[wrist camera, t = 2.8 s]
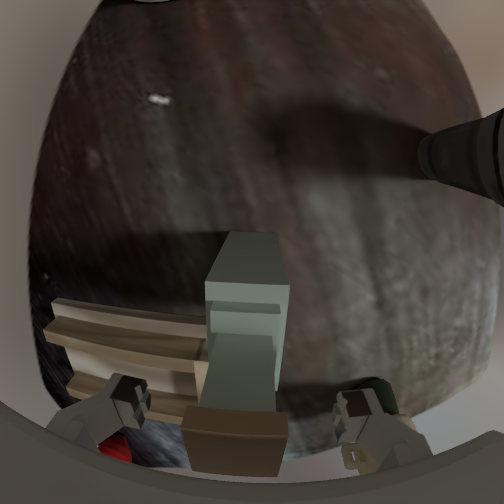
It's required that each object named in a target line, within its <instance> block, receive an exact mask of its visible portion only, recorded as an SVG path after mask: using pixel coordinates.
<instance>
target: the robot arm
mask: <svg viewBox="0 0 504 504" xmlns="http://www.w3.org/2000/svg"><path fill="white" fill-rule="evenodd" d="M136 1H141V2H160V1H168V0H136ZM147 387H148V385H147V381H146V380H144V379H140V378H136V377H132V376H127V375H123V374H119V373H113V374H112V375H111V377H110V378H109V380H108V381H107V383H106V384H105V386H104V388H103V389H102V391H101V392H100V394H99V395H97V394H95V395H93V396H91V397H89V398H87V399H84V400H82V401H80V402H78V403H76V404H73V405H71V406H69V407H67V408H64V409H62V410H60V411H57V413H56V414H55V415H54V417H53V418H52V420H51V421H50V422H49V424H48V425H47V427H46V428H43V427H41V426H40V425H38V424H36V423H34V422H33V421H31V420H29V419H27V418H26V417H24V416H22V415H21V414H19V413H18V412H16V411H14V410H13V409H11V408H10V407H8V406H7V405H5V404H4V403H2V402H1V401H0V504H504V434H502V433H501V432H498V431H495V430H492V431H489V432H486V433H484V434H482V435H480V436H478V437H477V438H474V439H472V440H470V441H468V442H466V443H464V444H461V445H459V446H457V447H454V448H452V449H449V450H447V451H444V452H442V453H439V454H437V455H434V456H433V454H432V452H431V450H430V447H429V445H428V443H427V441H426V439H425V437H424V436H423V435H421V434H420V433H418V432H416V431H415V430H413V429H411V428H410V427H408V426H407V425H405V424H404V423H402V422H400V421H399V420H397V419H396V418H394V417H393V416H391V415H390V414H388V413H384V412H383V410H382V407H381V405H380V403H379V401H378V398H377V396H376V394H375V392H374V390H373V389H372V388H368V389H361V390H360V389H359V390H349V391H339V392H338V394H337V397H336V398H337V402H336V403H335V404H334V406H333V409H332V420H333V424H334V425H335V426H337V428H336V430H335V433H336V437H337V441H338V443H341V442H351V441H356V442H357V443H358V444H359V445H360V446H361V447H362V448H363V449H364V450H365V451H366V452H367V453H368V454H370V455H371V456H372V457H373V458H374V459H375V460H376V461H377V462H378V463H379V464H380V466H379V467H378V468H377V470H376V471H375V472H374V473H369V474H364V475H359V476H353V477H347V478H340V479H333V480H326V481H315V482H300V483H242V482H229V481H217V480H209V479H202V478H195V477H188V476H183V475H178V474H173V473H167V472H163V471H159V470H154V469H150V468H146V467H143V466H139V465H135V464H132V463H129V462H125V461H122V460H119V459H116V458H113V457H110V456H107V455H104V454H102V453H101V452H100V451H99V449H98V448H97V446H96V445H98V444H99V443H100V442H102V441H103V440H105V439H106V438H108V437H109V436H111V435H112V434H113V433H115V432H116V431H118V430H119V429H120V428H122V427H123V425H124V426H128V427H132V428H136V429H140V430H141V428H142V425H143V423H144V421H145V417H144V414H146V413H147V412H148V411H149V409H150V405H151V396H150V393H149V392H148V391H147V390H146V389H147Z"/></svg>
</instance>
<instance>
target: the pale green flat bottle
mask: <svg viewBox="0 0 504 504" xmlns="http://www.w3.org/2000/svg"><path fill="white" fill-rule="evenodd" d="M289 289H290V284H289V280H288V276H287V271H286V267H285V263H284V259H283V255H282V251H281V247H280V243H279V239H278V235H277V233H260V232H237V231H230V232H229V234H228V236H227V238H226V240H225V242H224V244H223V246H222V248H221V250H220V252H219V254H218V256H217V258H216V260H215V262H214V264H213V266H212V268H211V270H210V272H209V274H208V276H207V278H206V280H205V301H206V326H207V345H208V362H209V366H208V370H207V374H206V378H205V381H204V385H203V389H202V393H201V397H200V401H199V405H198V406H191V405H187V407H186V410H185V414H184V417H183V420H182V424H181V427H180V428H181V432H182V435H183V439H184V443H185V447H186V450H187V454H188V457H189V461H190V464H191V468H192V470H193V471H197V472H204V473H212V474H221V475H232V476H250V477H277V476H278V473H279V469H280V466H281V462H282V458H283V455H284V451H285V447H286V443H287V439H288V422H287V412H276V397H275V391H277V389H278V382H279V375H280V367H281V360H282V352H283V344H284V335H285V327H286V318H287V308H288V299H289Z"/></svg>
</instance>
